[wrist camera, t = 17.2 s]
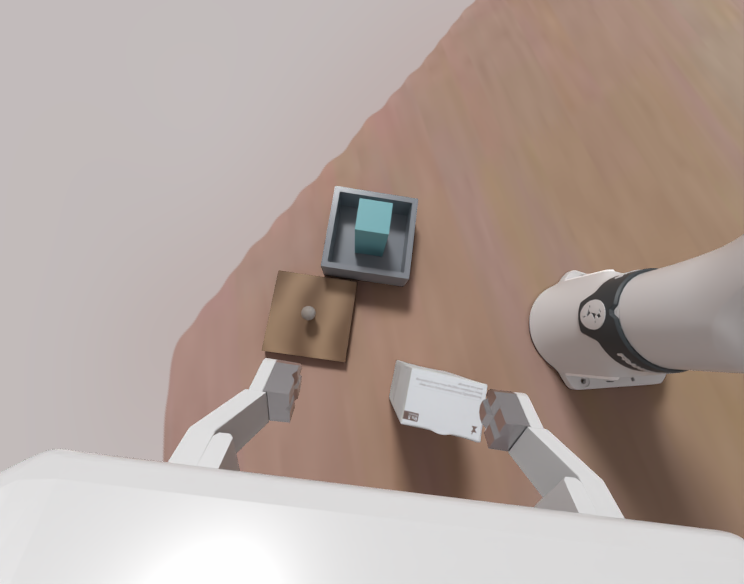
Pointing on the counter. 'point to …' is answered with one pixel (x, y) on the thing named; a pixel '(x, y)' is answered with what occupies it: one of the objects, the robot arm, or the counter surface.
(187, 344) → the counter surface
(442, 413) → the skincare box
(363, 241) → the strut
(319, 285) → the brown wooden lid
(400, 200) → the bin
